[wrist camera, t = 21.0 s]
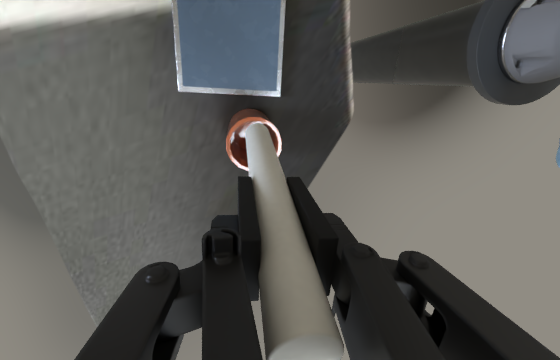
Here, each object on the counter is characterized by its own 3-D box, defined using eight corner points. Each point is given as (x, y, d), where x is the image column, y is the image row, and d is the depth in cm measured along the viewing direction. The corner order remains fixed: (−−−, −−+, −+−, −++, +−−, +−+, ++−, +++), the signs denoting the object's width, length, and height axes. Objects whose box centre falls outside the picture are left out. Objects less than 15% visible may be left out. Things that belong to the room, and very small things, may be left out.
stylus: (269, 120, 25) (352, 331, 7) (267, 143, 26) (337, 376, 8) (245, 119, 24) (269, 339, 7) (244, 142, 25) (264, 385, 8)
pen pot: (272, 109, 42) (283, 118, 33) (270, 152, 44) (280, 171, 35) (228, 107, 41) (225, 116, 31) (228, 151, 43) (226, 171, 34)
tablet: (288, -64, 34) (289, -68, 33) (279, 96, 41) (280, 97, 40) (166, -83, 32) (164, -88, 31) (179, 91, 39) (178, 91, 38)
